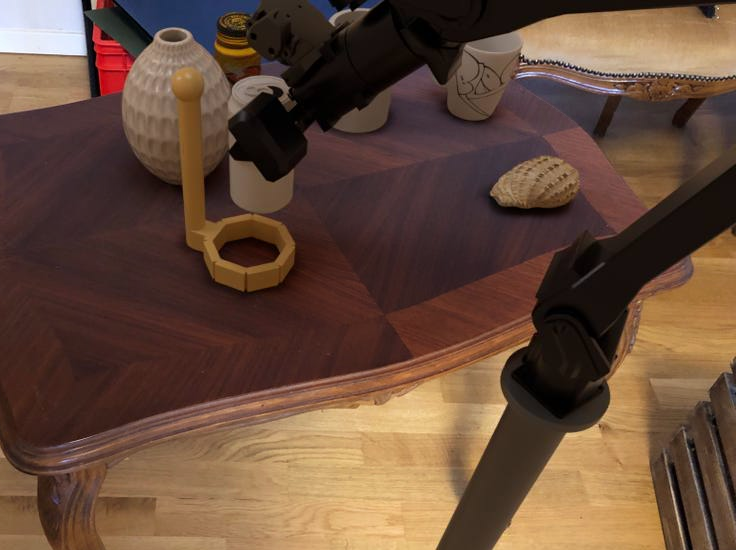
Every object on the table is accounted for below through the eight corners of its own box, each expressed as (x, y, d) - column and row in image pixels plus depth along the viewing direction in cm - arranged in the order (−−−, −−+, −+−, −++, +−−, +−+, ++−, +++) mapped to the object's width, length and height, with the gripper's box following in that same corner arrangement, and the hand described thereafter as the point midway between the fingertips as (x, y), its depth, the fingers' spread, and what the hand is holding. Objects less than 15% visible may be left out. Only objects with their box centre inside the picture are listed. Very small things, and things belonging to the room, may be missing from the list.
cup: (385, 136, 93) (402, 46, 84) (316, 128, 94) (325, 38, 84) (388, 99, 99) (404, 12, 89) (323, 93, 99) (332, 5, 90)
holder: (304, 248, 78) (321, 76, 63) (269, 301, 73) (278, 127, 58) (204, 214, 82) (197, 43, 66) (163, 262, 76) (145, 89, 61)
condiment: (247, 128, 93) (248, 38, 84) (192, 110, 96) (187, 21, 87) (272, 103, 97) (276, 14, 88) (219, 86, 100) (217, -2, 91)
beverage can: (290, 220, 71) (296, 110, 62) (226, 216, 71) (223, 106, 62) (293, 182, 75) (300, 73, 66) (233, 178, 75) (231, 70, 66)
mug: (408, 103, 98) (423, 31, 90) (437, 79, 102) (453, 9, 95) (484, 133, 94) (506, 60, 86) (511, 106, 98) (534, 34, 90)
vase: (247, 193, 84) (249, 57, 72) (140, 210, 82) (122, 72, 69) (220, 134, 92) (217, 2, 79) (121, 148, 90) (102, 14, 77)
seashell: (528, 246, 84) (591, 190, 84) (528, 217, 78) (595, 158, 79) (480, 211, 88) (540, 158, 88) (477, 182, 82) (541, 125, 83)
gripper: (362, -75, 59) (248, 27, 71) (249, 10, 49) (137, 112, 61) (432, 42, 63) (312, 120, 75) (341, 144, 52) (218, 216, 64)
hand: (250, 138), depth 68 cm, fingers closed on beverage can, 6 cm apart
